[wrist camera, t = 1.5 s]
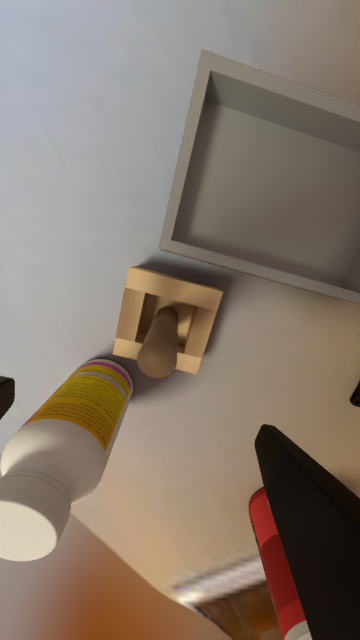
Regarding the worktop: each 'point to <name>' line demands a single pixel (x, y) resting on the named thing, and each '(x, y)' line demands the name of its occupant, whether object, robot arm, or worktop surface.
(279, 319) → the worktop surface
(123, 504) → the worktop surface
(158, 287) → the holder
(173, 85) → the worktop surface
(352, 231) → the tray
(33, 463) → the supplement bottle
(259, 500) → the canned food
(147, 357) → the pin
